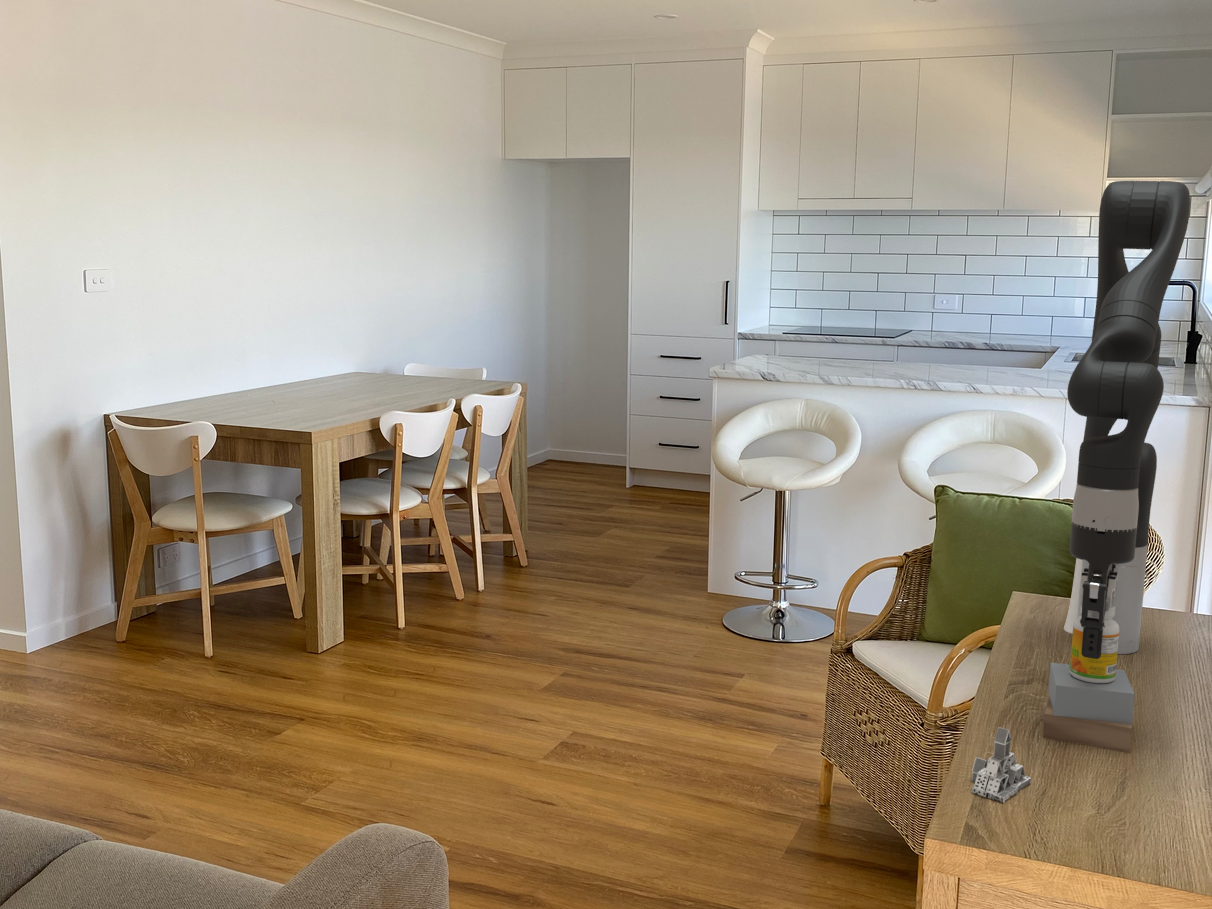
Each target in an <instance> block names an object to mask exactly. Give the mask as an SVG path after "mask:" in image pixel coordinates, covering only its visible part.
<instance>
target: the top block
mask: <svg viewBox="0 0 1212 909" xmlns="http://www.w3.org/2000/svg"><path fill="white" fill-rule="evenodd" d="M1049 664H1050V666H1049V678H1048V697H1049V696H1050V700H1051V705H1052V709H1053V714H1054V716H1063V717H1071V718H1080V719H1088V720H1096V721H1105V722H1113V723H1122V724H1130V725H1132V726H1133V719H1134V708H1135V707H1134V706H1135V695H1136V694H1135V691H1134V689H1133V686H1132V684H1131V682H1130V679H1129V678H1128V675H1127V673H1126V671H1125V669H1119V668H1118V669H1117V668H1116V675H1115V679H1114V681H1112V682H1109V683H1090V682H1086V681H1082V680H1079V679H1077V678H1075V677H1073V676H1072V675H1071V674H1070V663H1069V664H1068V663H1061V662H1059V663H1058V662H1052V661H1050V663H1049Z"/></svg>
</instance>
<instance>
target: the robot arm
mask: <svg viewBox="0 0 1212 909" xmlns="http://www.w3.org/2000/svg"><path fill="white" fill-rule="evenodd" d="M1101 196H1102V197H1101V199H1100V200H1101V201H1100V206H1099V211H1098V212H1099V214H1098V233H1097V235H1098V237H1097V238H1098V240H1097V242H1098V244H1097V248H1098V250H1097V253H1098V254H1097V291H1096V302H1095V312H1094V317H1093V327H1092V335H1091V342H1090V345H1089V346H1088V347H1087V350H1086V351H1085V352H1084V354H1083V356H1082V357H1081V358H1080V360H1079V362H1078V363H1077V365H1076V366H1075V368H1074V370H1073V372H1072V373H1071V376H1070V379H1069V381H1068V385H1067V389H1066V390H1067V392H1066V394H1067V401H1068V403H1069V406H1070V407H1071V409H1072V410H1073V411H1074V413H1076V414H1077V415H1078V416H1082V417H1086V419H1085V426H1084V431H1083V432H1084V435H1083V440H1082V442H1081V444H1080V446H1079V451H1078V463H1077V475H1076V477H1077V478H1076V486H1075V491H1074V495H1073V501H1072V514H1071V523H1070V524H1071V526H1070V536H1069V537H1070V538H1069V550H1068V551H1069V554H1070V555H1071V556H1072V557H1074V558H1075V559H1076V558H1078V559H1081V560H1082V571H1081V582H1080V590H1079V603H1078V616H1077V618H1078V617H1080V616H1081V619H1080V623H1081V626H1082V627H1083V640H1082V652H1081V654H1082V656H1084V657H1088V658H1094V659H1098V658H1100V656H1101V649H1102V637H1103V630H1104V628H1105V624H1104V623H1105V615H1106V613H1108V612H1110V610H1111V603H1113V604H1114V605H1115V615H1114V617H1113V618H1112V620H1114V621H1115V622H1116V623H1117V624H1118V625H1119V641H1118V652H1117V655H1128V654H1134V653H1136V652H1138V651H1139V650H1140V649H1139V646H1140V636H1141V625H1142V616H1143V615H1142V614H1143V603H1144V593H1145V592H1144V591H1145V581H1146V580H1145V579H1146V569H1147V568H1146V567H1147V559H1148V558H1147V557H1148V546H1149V544H1148V543H1149V534H1150V533H1149V532H1150V531H1149V530H1150V528H1149V527H1150V519H1151V518H1150V517H1151V507H1152V504H1153V503H1152V501H1153V495H1154V488H1155V484H1156V483H1155V482H1156V474H1157V466H1158V465H1157V464H1158V462H1157V461H1158V457H1157V452H1156V449H1155V447H1154V445H1153V444H1151V443H1149V442H1146V441H1145V440H1146V438H1147V435H1148V432H1149V429H1150V426H1151V424H1152V422H1153V419H1154V417H1155V414H1156V412H1157V410H1158V408H1159V406H1160V404H1161V401H1162V397H1163V395H1164V387H1165V385H1164V378H1163V376H1162V374H1161V372H1160V370H1159V360H1160V354H1161V353H1160V352H1161V346H1162V345H1161V343H1162V330H1161V326H1160V324H1159V321H1160V316H1161V315H1160V314H1161V311H1162V306H1163V302H1164V298H1165V296H1166V293H1167V290H1168V288H1169V284H1170V282H1171V279H1172V276H1173V274H1174V271H1175V269H1176V267H1177V262H1178V259H1179V256H1180V253H1181V252H1182V251H1181V250H1182V247H1183V245H1184V240H1185V238H1186V234H1187V230H1188V227H1189V226H1188V225H1189V220H1190V211H1191V194H1190V190H1189V188H1188V187H1187V185H1186V184H1185V183H1184V182H1181V181H1180V182H1179V181H1174V180H1173V181H1172V180H1171V181H1170V180H1115V181H1111V182H1110V183H1109V184H1108V185H1107V186H1106V187H1105V189H1104V190H1103V194H1102V195H1101ZM1125 250H1147V251H1148V250H1149V251H1150V250H1151V251H1150V253H1148V255H1147V256H1145V257H1144V258H1143V259H1142V260H1141V261H1140V262H1139V263H1138V264H1137V265H1136V266H1135V267H1133V268H1132V269H1131V270H1130V271H1129V269H1128V266H1127V261H1126V259H1125V257H1126V256H1125ZM1118 420H1125V421H1126V420H1127V422H1126V426H1125V427H1124V429H1123V430H1121V431H1120V432H1118V433H1115V434H1109V433H1110V432H1111V430H1112V428H1113V426H1114V425H1115V424H1116V423H1117V421H1118ZM1081 608H1082V613H1081ZM1090 610H1091V611H1097V612H1099V619H1096V618H1089V617H1088V612H1089V611H1090Z"/></svg>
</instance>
